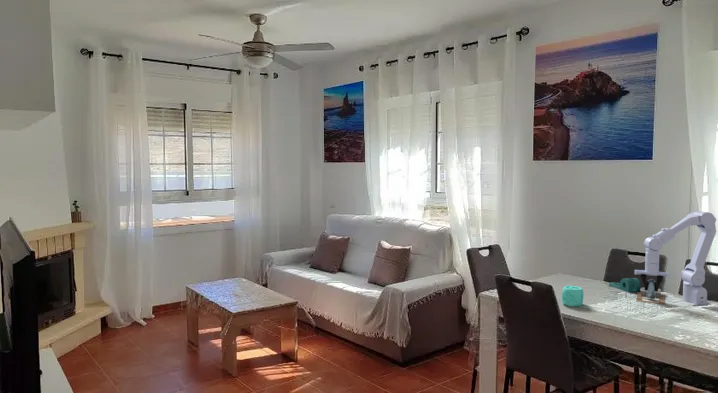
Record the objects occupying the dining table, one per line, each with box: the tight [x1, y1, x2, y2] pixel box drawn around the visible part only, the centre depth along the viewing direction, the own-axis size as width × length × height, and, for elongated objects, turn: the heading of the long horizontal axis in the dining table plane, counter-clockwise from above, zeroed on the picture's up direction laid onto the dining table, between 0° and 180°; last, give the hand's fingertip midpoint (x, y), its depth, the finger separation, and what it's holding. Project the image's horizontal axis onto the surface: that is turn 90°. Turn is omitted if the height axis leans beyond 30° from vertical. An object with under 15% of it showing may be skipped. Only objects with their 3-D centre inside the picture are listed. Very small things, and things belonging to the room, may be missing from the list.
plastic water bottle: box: [646, 278, 657, 299], centre depth 244 cm, size 4×4×9 cm
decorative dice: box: [561, 285, 584, 308], centre depth 242 cm, size 8×8×8 cm
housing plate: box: [635, 286, 666, 306], centre depth 249 cm, size 22×12×4 cm, turn 150°
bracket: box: [608, 277, 642, 294], centre depth 269 cm, size 18×7×8 cm, turn 8°
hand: (651, 290), depth 244 cm, fingers closed on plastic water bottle, 4 cm apart
